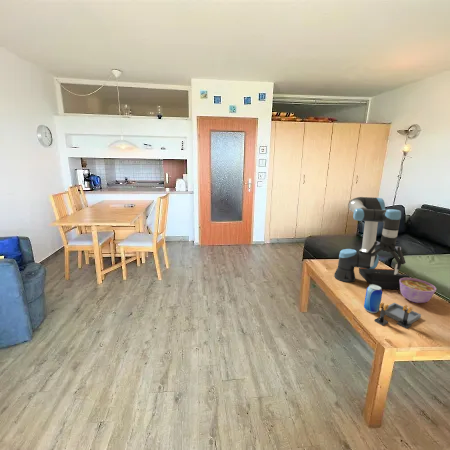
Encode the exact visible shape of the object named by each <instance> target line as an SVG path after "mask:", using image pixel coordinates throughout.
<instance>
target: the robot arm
mask: <svg viewBox="0 0 450 450" xmlns="http://www.w3.org/2000/svg"><path fill="white" fill-rule="evenodd" d="M347 208H348V209H349V211H351V212H352V213H353V214H352V216H353V220H354V221H358V222H361V221H362V222H364V226H363V227H364V228H363V237H362V244H361V248H360V249H359V251H358V252H357V250H356V249H352V248H345V249H344V248H343V249H341V250H340V251H339V255H338V262H337V268H336V270H335V272H334V275H333V277H334V278H335V279H336V280H338V281H340V282H344V283H353V282H355V281H356V275H355V268H358V269H359V268H366V269H377V268H378V264H379V260H380V256H379V254H377V253H379V252H381V251H383V252H387V253H390V254H391V256H393V258H394V260H395V261H396V263H395V267H394V270H395V272H394V274H395V275H396V274H398V272H399V270H400V269H401V268H402V265H404V264H406V259H405V256H404V254H403V251H402V246H397V245H396V244H397V240H398V239H397V237H398V234H399V228H400V222H401V218H402V211H401V210H399V209H392V208H389V209H387V208H386V203H385V200H384V199H383V198H380V197H363V196H358V197H354V198H352V199H351V200H349V202H348V205H347ZM379 223H383V227H382V231H381V238H380V241H378V240H377V234H378V233H377V232H378V226H379V225H378V224H379ZM377 246H380V247H379V248H377ZM376 248H377V249H376ZM396 251H397V253H396Z"/></svg>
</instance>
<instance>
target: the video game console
mask: <svg viewBox="0 0 450 450" xmlns="http://www.w3.org/2000/svg"><path fill="white" fill-rule="evenodd" d="M358 271H359V272H358V273H359V275H360V276H362V277H363V279H364V280H366V282H367V283H368V284H369V285H371V284H373V285H377V286H380V287H381V290H382V289H384V290H385V289H386V290H400V282H399V280H400V279H401V278H411V277H410V276H409V274H406V273H405V274H404V273H400V272H399V271H398V274H396V275H395V274H394V272H395V268H394V269H393V268H392V269H389V268H375V269H366V268H358Z"/></svg>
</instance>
